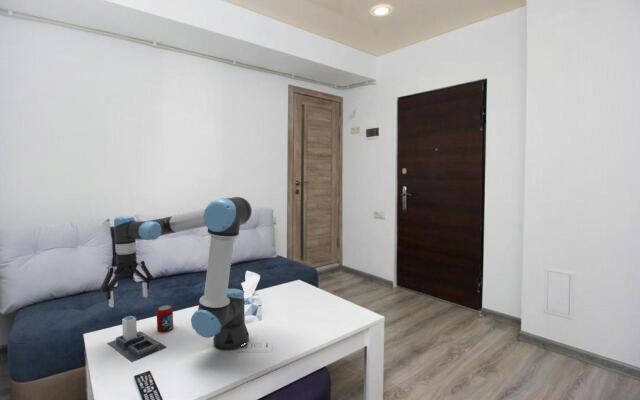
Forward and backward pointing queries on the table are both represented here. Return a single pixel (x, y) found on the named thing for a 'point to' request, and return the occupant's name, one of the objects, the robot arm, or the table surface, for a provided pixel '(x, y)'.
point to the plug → (129, 328)
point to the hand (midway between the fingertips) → (129, 301)
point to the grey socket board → (136, 346)
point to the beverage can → (164, 319)
